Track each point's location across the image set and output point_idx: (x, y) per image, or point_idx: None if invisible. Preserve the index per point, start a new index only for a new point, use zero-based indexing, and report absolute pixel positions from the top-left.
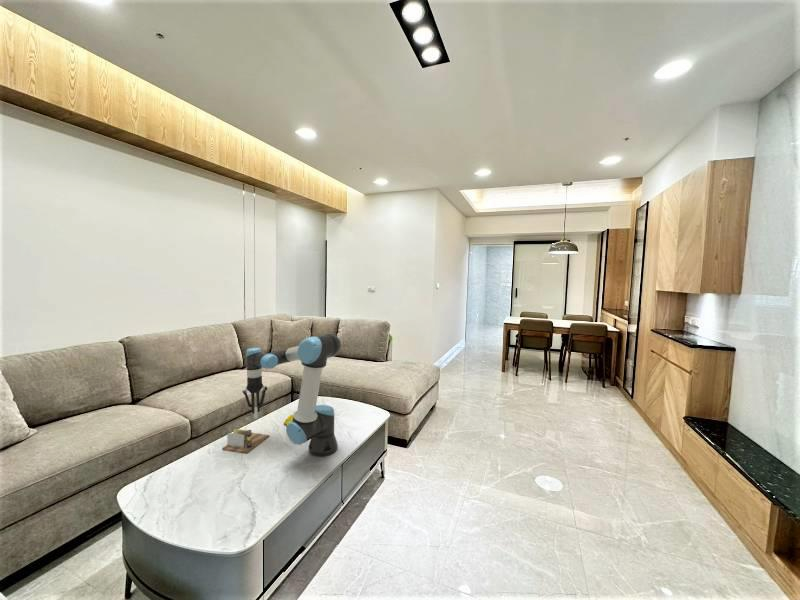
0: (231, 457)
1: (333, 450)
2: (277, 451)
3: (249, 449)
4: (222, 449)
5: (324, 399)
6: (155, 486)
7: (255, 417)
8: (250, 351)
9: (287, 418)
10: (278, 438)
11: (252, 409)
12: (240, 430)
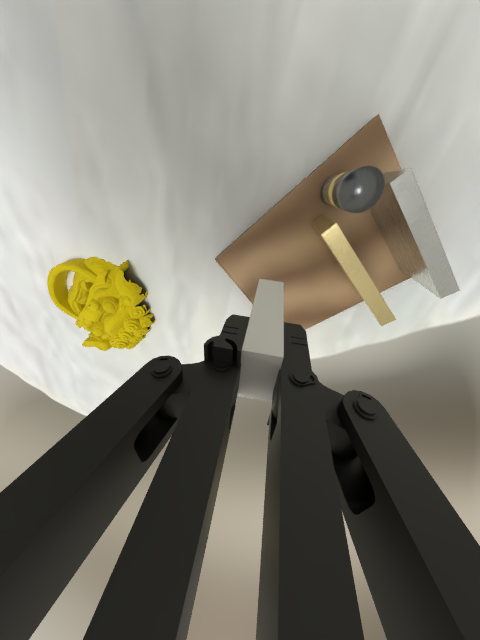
0: (466, 126)
1: None
2: (214, 7)
3: (350, 144)
4: None
5: (46, 386)
6: None
7: (277, 288)
8: None
9: (128, 328)
10: (185, 212)
11: (304, 355)
12: (371, 283)
